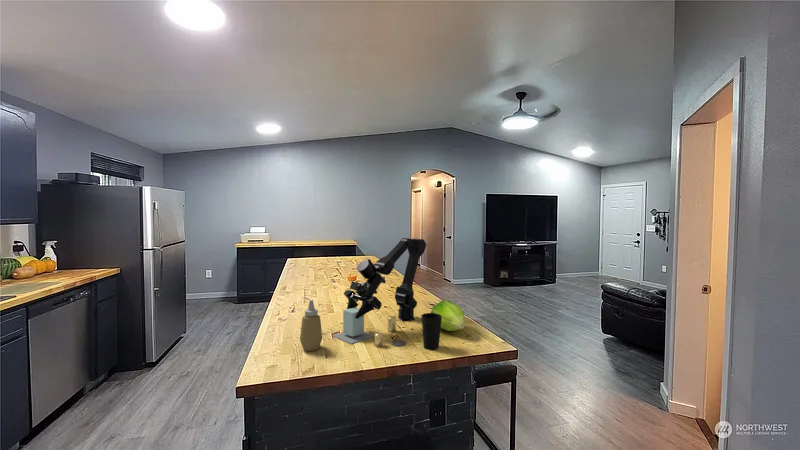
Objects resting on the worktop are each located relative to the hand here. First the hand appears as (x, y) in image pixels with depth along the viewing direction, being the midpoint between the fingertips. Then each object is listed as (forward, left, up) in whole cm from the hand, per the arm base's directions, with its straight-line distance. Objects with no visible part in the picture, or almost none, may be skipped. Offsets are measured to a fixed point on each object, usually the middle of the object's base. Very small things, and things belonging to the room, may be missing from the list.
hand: (351, 316), depth 140 cm
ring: (-15, +13, -8) cm, 22 cm away
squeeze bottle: (+17, +5, -9) cm, 20 cm away
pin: (-7, +12, -8) cm, 17 cm away
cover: (-1, -1, -7) cm, 7 cm away
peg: (-18, -1, -8) cm, 20 cm away
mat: (-1, -1, -8) cm, 9 cm away
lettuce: (-41, +9, -9) cm, 43 cm away
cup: (-25, +21, -9) cm, 34 cm away
